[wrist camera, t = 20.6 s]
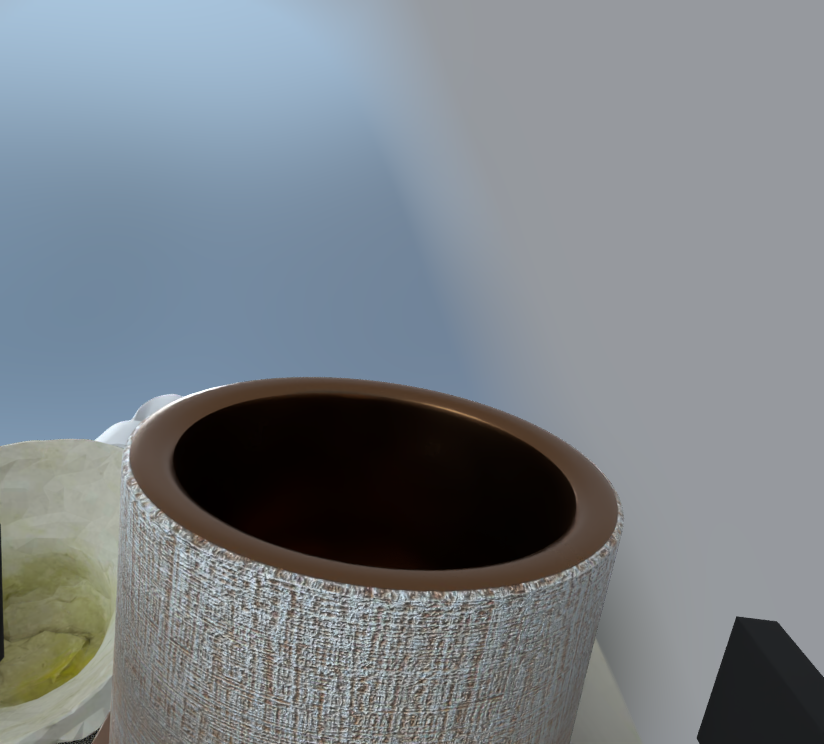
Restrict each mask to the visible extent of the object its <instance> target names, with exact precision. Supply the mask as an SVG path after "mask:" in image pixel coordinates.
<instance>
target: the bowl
mask: <svg viewBox="0 0 824 744" xmlns="http://www.w3.org/2000/svg"><path fill="white" fill-rule="evenodd" d="M123 450H124V448H122V447H119V446H114V445H110V444H106V443H103V442H98V441H93V440H88V439H87V440H86V439H59V440H46V441H40V440H32V441H24V442H18V443H13V444H8V445H3V446H0V524H1V552H2V589H3V626H4V658H3V659H2V660H1V661H0V744H57V743H61V742H70V741H75V740H80V739H83V738H85V737H87V736H90V735H92V734H94V733H95V731H96V730H97V729H98V728H100V727H101V725H102V723H103V722H104V720H105V718H106V716H107V714H108V712H109V711H110V709H111V693H112V675H113V657H114V637H115V616H116V595H117V570H118V543H119V514H120V484H121V463H122V454H123Z"/></svg>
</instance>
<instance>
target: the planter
mask: <svg viewBox="0 0 824 744" xmlns="http://www.w3.org/2000/svg"><path fill="white" fill-rule="evenodd" d="M623 518H624V517H623V508H622V505H621V501H620V499H619V496H618V494H617V492H616V490H615V489H614V487H613V485H612V484H611V482H610V481H609V480H608V479H607V477H606V476H605V475H604V473H603V472H602V471H601V470H600V469H599V468H598V467H597V466H596V465H595V464H593V462H592V461H590V460H589V459H588V458H587V457H586V456H584V455H583V454H582V453H581V452H579V451H578V450H577V449H575V448H574V447H572V446H571V445H569V444H568V443H566V442H564V441H563V440H561V439H560V438H558V437H557V436H555V435H553V434H551V433H550V432H548V431H546V430H544V429H542V428H540V427H538V426H536V425H534V424H532V423H530V422H527V421H525V420H523V419H521V418H518V417H516V416H514V415H511V414H509V413H506V412H504V411H501V410H498V409H495V408H493V407H490V406H487V405H483V404H481V403H478V402H474V401H471V400H468V399H464V398H460V397H456V396H453V395H449V394H445V393H441V392H436V391H432V390H428V389H423V388H417V387H412V386H406V385H401V384H394V383H387V382H379V381H370V380H361V379H349V378H332V377H290V378H273V379H261V380H253V381H246V382H239V383H234V384H228V385H223V386H219V387H215V388H211V389H207V390H203V391H200V392H197V393H193V394H190V395H188V396H186V397H183V398H180V399H178V400H175V401H173V402H171V403H169V404H167V405H165V406H163V407H161V408H160V409H158V410H156V411H155V412H153V413H152V414H151V415H149V416H148V417H147V418H145V419H144V420H143V421H142V422H141V423H140V424H139V425H138V426H137V427H136V428H135V429H134V430H133V432H132V433H131V435H130V436H129V437H128V440H127V442H126V444H125V446H124V450H123V454H122V463H121V484H120V514H119V543H118V570H117V595H116V616H115V637H114V657H113V675H112V693H111V711H110V732H109V744H569V743H570V739H571V735H572V731H573V726H574V722H575V718H576V714H577V710H578V705H579V701H580V697H581V693H582V689H583V685H584V681H585V677H586V673H587V668H588V664H589V660H590V656H591V652H592V648H593V644H594V640H595V636H596V632H597V628H598V624H599V620H600V616H601V612H602V608H603V604H604V601H605V597H606V593H607V589H608V585H609V581H610V577H611V573H612V569H613V566H614V562H615V558H616V554H617V550H618V546H619V542H620V538H621V534H622V528H623Z"/></svg>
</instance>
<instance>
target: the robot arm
mask: <svg viewBox="0 0 824 744" xmlns="http://www.w3.org/2000/svg"><path fill="white" fill-rule="evenodd" d="M3 658H4V626H3V589H2V552H1V524H0V661H1V660H2V659H3ZM697 740H698V742H699V744H824V677H823V676H822V675H821V674H820V672H819V671H818V670H817V669H816V668H815V666H814V665H813V664H812V663H811V662H810V660H809V659H808V658H807V657H806V656H805V655H804V653H803V652H802V651H801V650H800V648H799V647H798V646H797V645H796V644H795V642H794V641H793V640H792V639H791V638H790V636H789V635H788V634H787V633H786V632H785V630H784V629H783V628H782V627H781V626H780V624H779V623H778V622H777V621H769V620H760V619H753V618H744V617H736V620H735V623H734V626H733V629H732V632H731V635H730V638H729V641H728V644H727V647H726V650H725V653H724V656H723V659H722V662H721V665H720V668H719V671H718V674H717V677H716V681H715V683H714V687H713V690H712V693H711V696H710V699H709V702H708V705H707V708H706V711H705V714H704V717H703V720H702V723H701V726H700V729H699V732H698V735H697Z"/></svg>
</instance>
